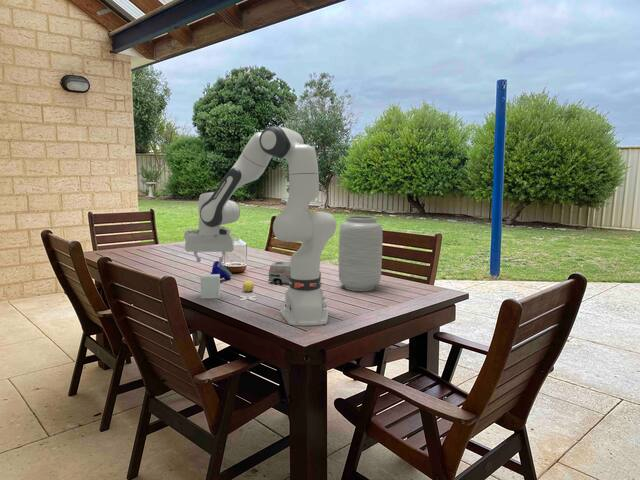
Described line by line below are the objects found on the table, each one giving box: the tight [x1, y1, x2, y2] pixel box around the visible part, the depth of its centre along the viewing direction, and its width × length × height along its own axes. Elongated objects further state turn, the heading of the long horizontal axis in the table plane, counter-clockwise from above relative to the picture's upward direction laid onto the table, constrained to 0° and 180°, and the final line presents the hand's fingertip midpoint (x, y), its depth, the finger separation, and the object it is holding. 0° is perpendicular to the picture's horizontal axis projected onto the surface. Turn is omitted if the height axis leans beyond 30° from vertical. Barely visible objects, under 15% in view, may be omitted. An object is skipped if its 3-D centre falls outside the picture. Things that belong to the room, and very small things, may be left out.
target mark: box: [239, 295, 258, 302], centre depth 198 cm, size 9×9×1 cm
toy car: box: [267, 261, 322, 286], centre depth 226 cm, size 11×25×10 cm, turn 78°
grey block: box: [200, 273, 221, 300], centre depth 200 cm, size 7×7×9 cm
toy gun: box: [210, 260, 233, 281], centre depth 227 cm, size 4×13×10 cm
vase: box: [338, 215, 383, 292], centre depth 217 cm, size 20×20×34 cm
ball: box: [242, 280, 255, 292], centre depth 209 cm, size 5×5×5 cm
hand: (209, 261), depth 199 cm, fingers open, 8 cm apart
